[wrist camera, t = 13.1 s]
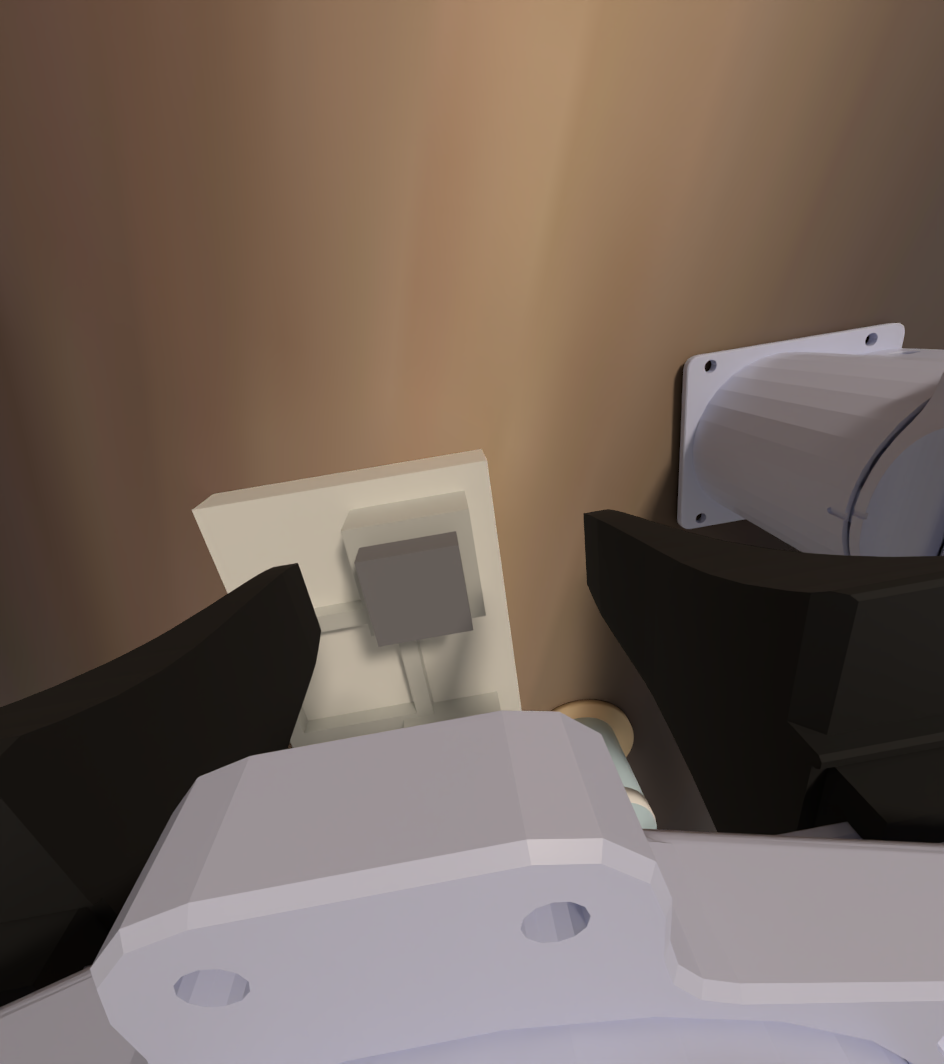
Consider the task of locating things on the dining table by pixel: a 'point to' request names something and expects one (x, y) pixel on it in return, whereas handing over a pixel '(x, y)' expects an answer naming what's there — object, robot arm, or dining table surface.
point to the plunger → (414, 588)
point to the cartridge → (623, 771)
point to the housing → (334, 588)
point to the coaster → (602, 718)
